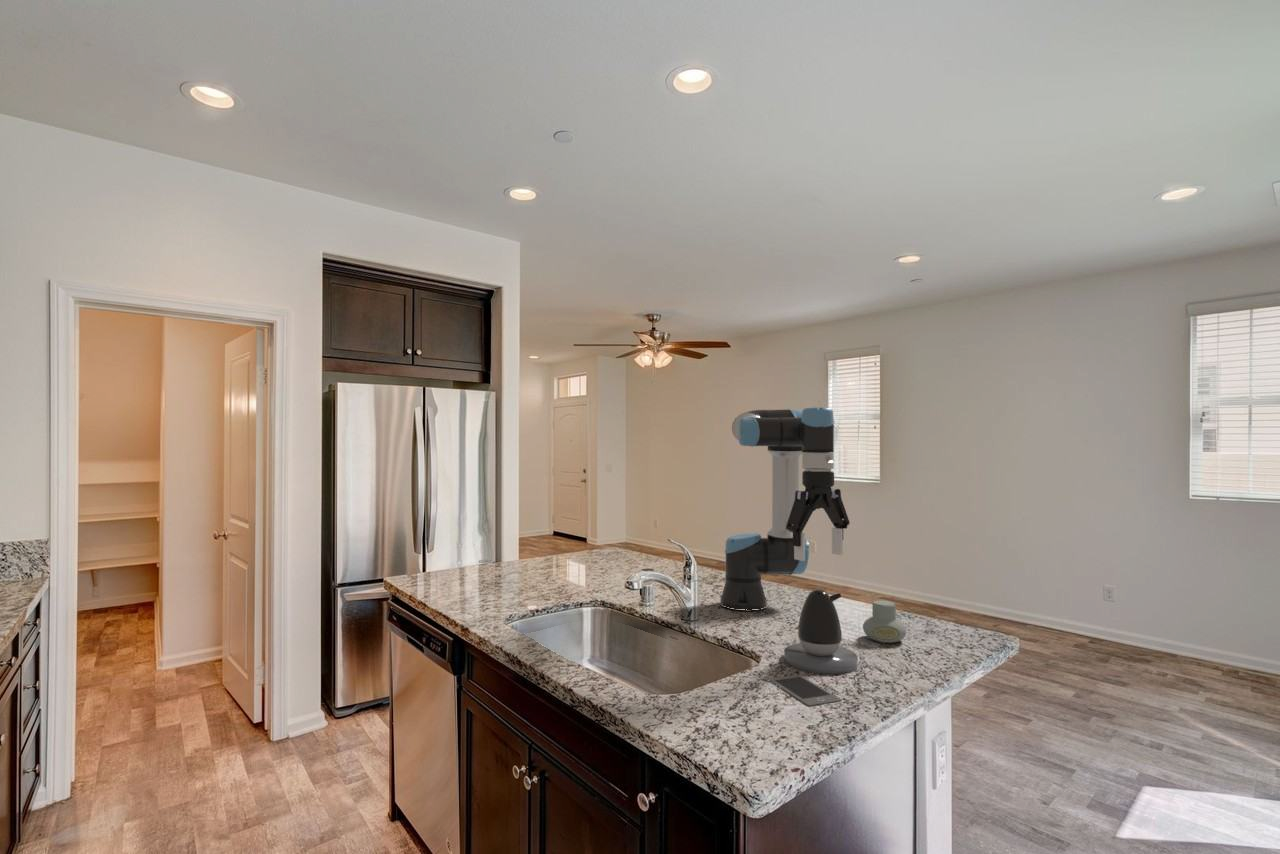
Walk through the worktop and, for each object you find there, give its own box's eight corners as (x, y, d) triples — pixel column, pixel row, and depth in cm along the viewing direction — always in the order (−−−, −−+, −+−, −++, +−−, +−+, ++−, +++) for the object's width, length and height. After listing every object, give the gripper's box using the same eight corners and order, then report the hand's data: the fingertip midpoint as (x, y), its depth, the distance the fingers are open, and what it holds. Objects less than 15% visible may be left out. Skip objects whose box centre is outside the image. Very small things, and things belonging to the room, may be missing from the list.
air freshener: (863, 642, 163) (863, 605, 163) (862, 634, 171) (861, 597, 171) (908, 646, 160) (907, 608, 160) (904, 637, 167) (904, 600, 168)
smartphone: (767, 682, 136) (767, 678, 136) (799, 677, 139) (799, 674, 139) (808, 708, 122) (808, 705, 122) (842, 703, 125) (842, 699, 125)
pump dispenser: (848, 660, 143) (847, 594, 144) (803, 659, 143) (803, 594, 144) (835, 646, 153) (834, 585, 154) (794, 646, 154) (793, 585, 154)
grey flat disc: (816, 646, 160) (816, 638, 160) (872, 665, 146) (872, 656, 146) (769, 658, 151) (769, 649, 151) (824, 679, 136) (824, 670, 136)
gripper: (794, 472, 140) (794, 565, 139) (863, 469, 154) (864, 554, 153) (770, 470, 146) (771, 559, 146) (839, 468, 160) (840, 550, 159)
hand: (818, 557), depth 149 cm, fingers open, 13 cm apart
